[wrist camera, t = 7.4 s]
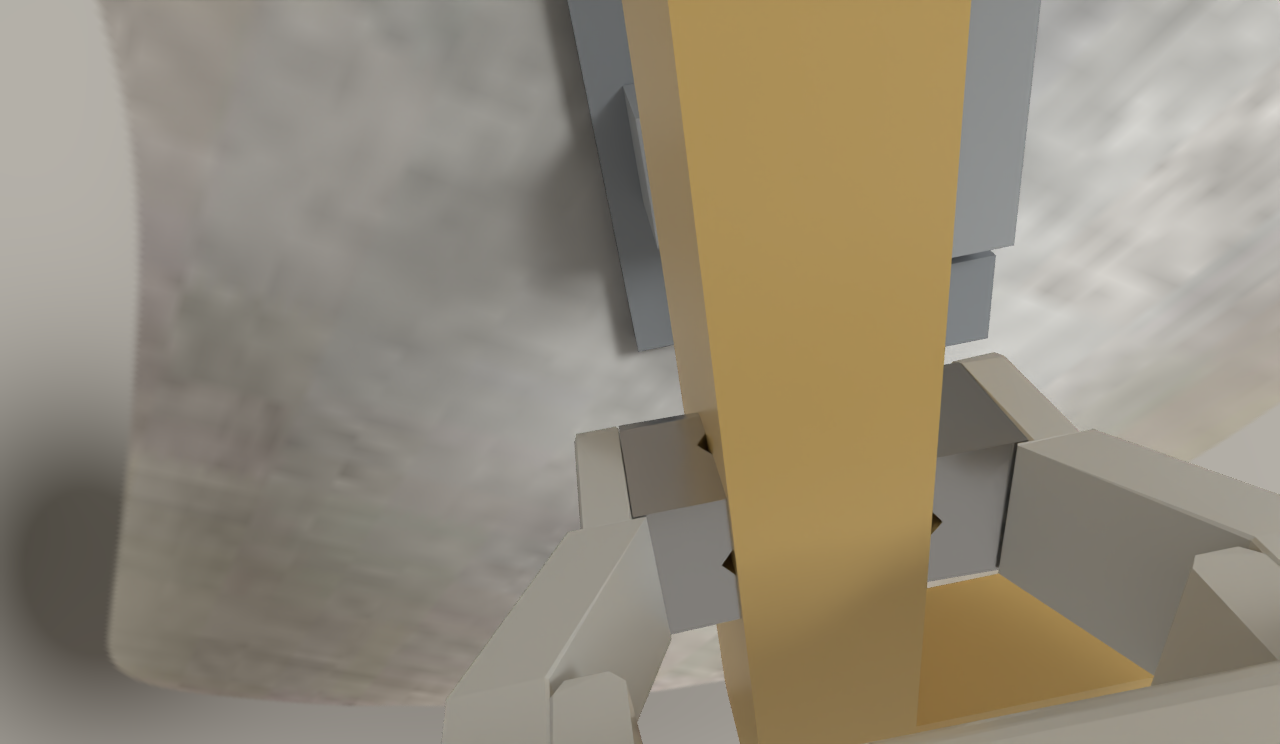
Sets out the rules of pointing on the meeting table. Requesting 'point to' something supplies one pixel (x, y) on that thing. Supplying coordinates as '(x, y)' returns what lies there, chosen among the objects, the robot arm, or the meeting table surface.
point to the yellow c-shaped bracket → (832, 361)
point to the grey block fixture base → (984, 172)
